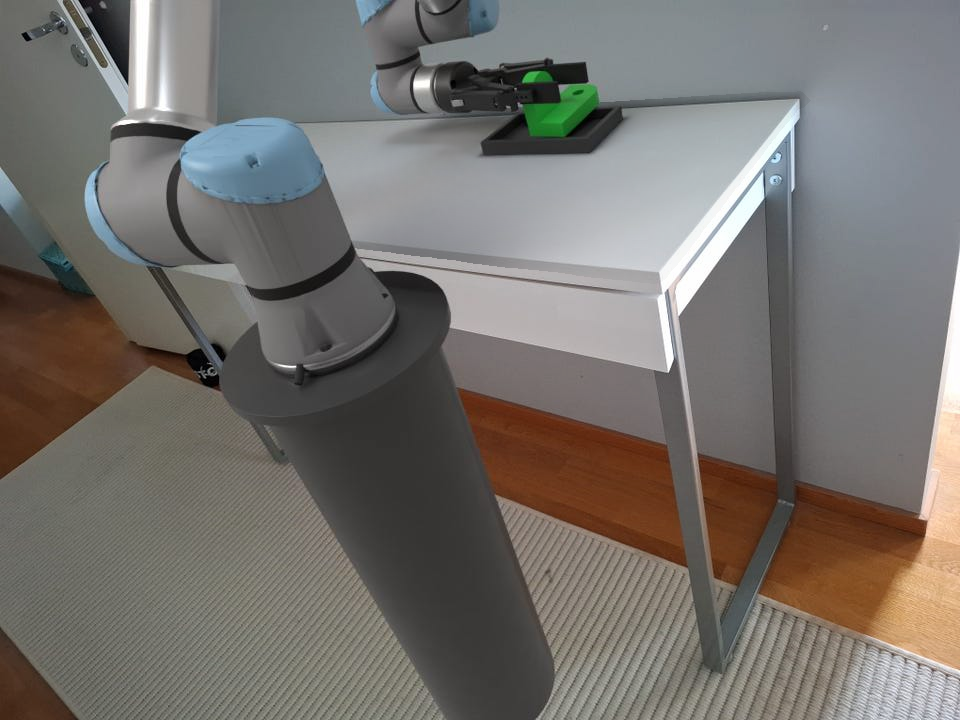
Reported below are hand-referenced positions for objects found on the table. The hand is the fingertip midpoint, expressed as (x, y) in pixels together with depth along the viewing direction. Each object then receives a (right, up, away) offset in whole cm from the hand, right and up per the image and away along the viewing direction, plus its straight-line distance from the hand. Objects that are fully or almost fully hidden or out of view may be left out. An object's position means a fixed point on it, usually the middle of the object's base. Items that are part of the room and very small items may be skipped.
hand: (572, 82), depth 91 cm
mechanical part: (+1, -2, +8) cm, 8 cm away
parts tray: (-2, -5, +8) cm, 9 cm away
